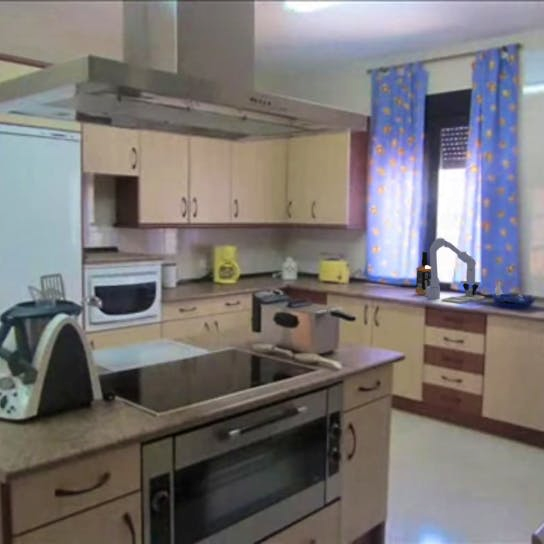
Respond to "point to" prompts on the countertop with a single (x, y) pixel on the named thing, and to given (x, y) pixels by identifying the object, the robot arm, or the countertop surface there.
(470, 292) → the stone
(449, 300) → the tray
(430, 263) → the robot arm
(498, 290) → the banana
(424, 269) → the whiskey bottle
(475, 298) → the tray
